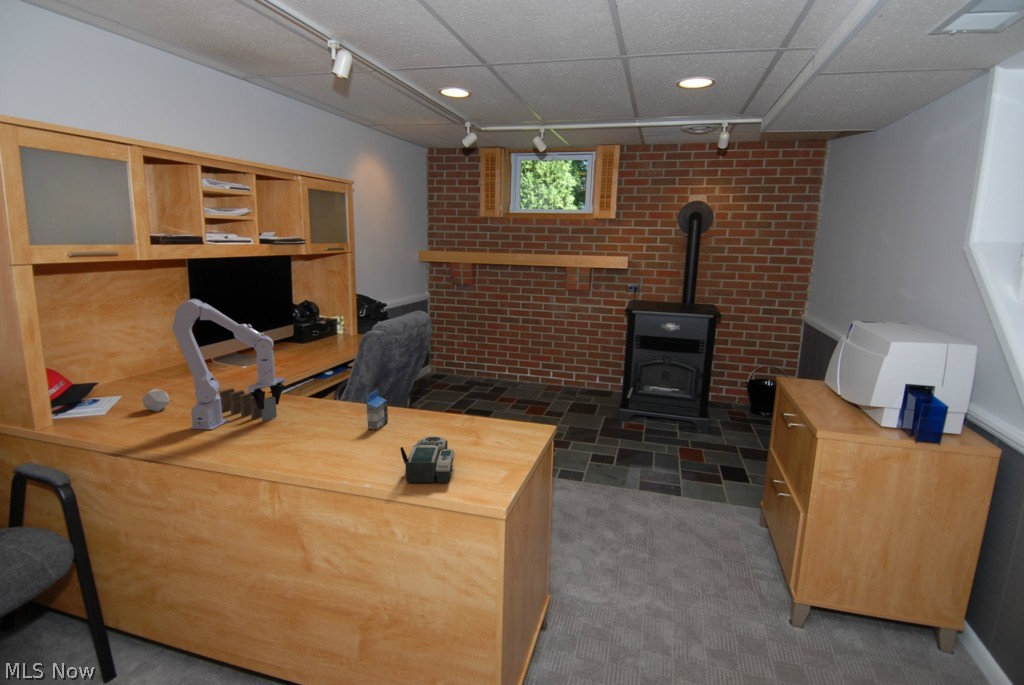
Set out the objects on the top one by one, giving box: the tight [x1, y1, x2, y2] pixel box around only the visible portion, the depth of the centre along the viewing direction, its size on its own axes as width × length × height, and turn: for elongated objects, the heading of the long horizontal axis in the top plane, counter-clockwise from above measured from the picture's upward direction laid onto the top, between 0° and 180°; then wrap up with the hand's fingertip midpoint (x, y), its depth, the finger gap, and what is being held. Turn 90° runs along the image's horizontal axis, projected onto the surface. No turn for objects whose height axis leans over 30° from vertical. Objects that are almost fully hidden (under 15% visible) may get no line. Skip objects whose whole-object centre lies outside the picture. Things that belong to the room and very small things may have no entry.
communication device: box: [400, 436, 456, 484], centre depth 157 cm, size 14×28×10 cm, turn 2°
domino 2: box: [229, 389, 245, 415], centre depth 199 cm, size 2×5×8 cm, turn 155°
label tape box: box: [365, 389, 389, 430], centre depth 187 cm, size 9×4×12 cm, turn 168°
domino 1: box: [218, 387, 235, 413], centre depth 201 cm, size 2×5×8 cm, turn 155°
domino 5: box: [261, 395, 278, 422], centre depth 192 cm, size 2×5×8 cm, turn 155°
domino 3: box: [240, 392, 253, 418], centre depth 197 cm, size 2×5×8 cm, turn 155°
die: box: [142, 388, 171, 412], centre depth 200 cm, size 8×9×10 cm
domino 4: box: [250, 395, 266, 420], centre depth 195 cm, size 2×5×8 cm, turn 155°
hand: (268, 406), depth 192 cm, fingers open, 6 cm apart
